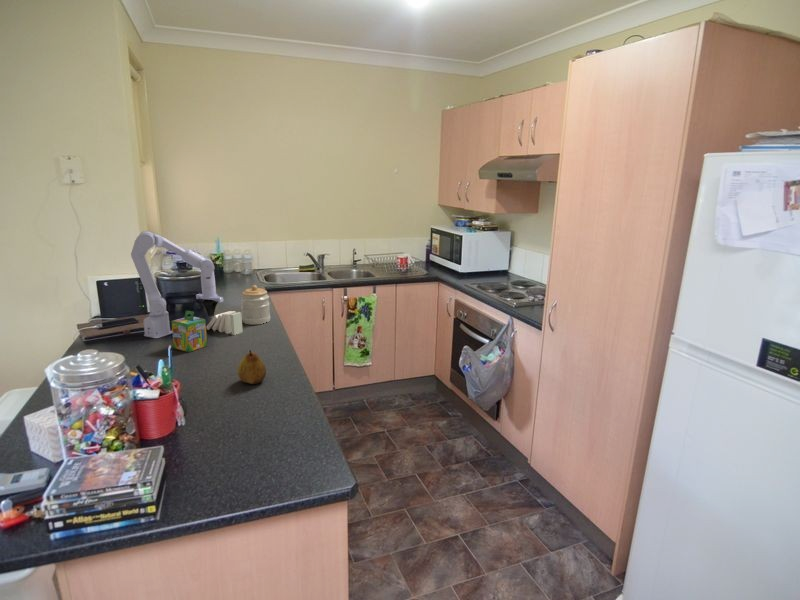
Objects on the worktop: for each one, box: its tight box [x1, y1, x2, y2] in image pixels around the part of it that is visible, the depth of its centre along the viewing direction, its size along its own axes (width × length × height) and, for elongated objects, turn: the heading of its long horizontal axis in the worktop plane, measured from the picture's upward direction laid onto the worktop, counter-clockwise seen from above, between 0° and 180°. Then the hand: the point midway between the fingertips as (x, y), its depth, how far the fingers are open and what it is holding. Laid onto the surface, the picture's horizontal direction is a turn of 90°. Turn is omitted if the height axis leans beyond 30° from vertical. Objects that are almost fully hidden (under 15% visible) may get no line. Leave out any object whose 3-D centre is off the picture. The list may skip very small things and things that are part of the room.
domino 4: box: [224, 310, 237, 335], centre depth 205 cm, size 2×5×9 cm, turn 154°
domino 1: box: [206, 312, 223, 331], centre depth 209 cm, size 2×5×9 cm
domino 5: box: [230, 311, 244, 336], centre depth 203 cm, size 2×5×9 cm, turn 154°
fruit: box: [237, 349, 267, 385], centre depth 154 cm, size 9×9×12 cm
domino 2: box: [212, 313, 222, 332], centre depth 207 cm, size 2×5×9 cm
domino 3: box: [217, 310, 232, 333], centre depth 206 cm, size 2×5×9 cm, turn 155°
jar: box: [240, 284, 271, 326], centre depth 221 cm, size 13×13×18 cm
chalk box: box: [170, 310, 208, 353], centre depth 185 cm, size 9×9×15 cm
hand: (211, 315), depth 209 cm, fingers closed
